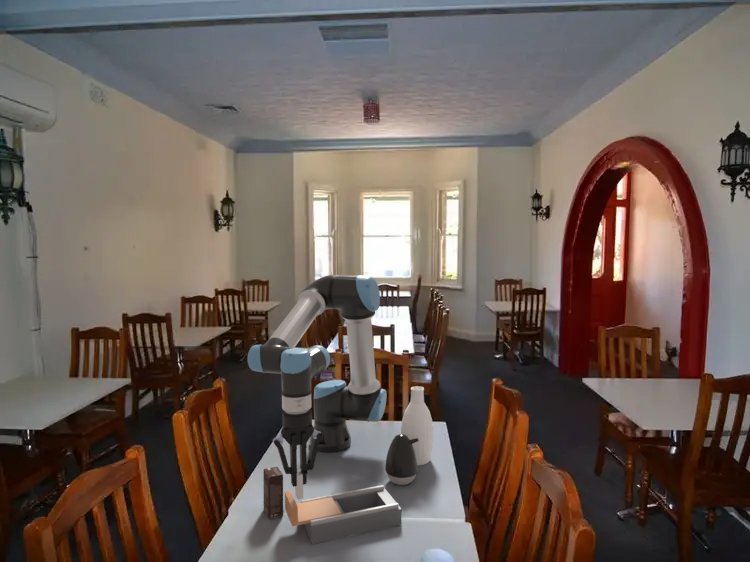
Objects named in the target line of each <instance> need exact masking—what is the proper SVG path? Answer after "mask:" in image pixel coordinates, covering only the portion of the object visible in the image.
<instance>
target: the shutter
mask: <svg viewBox="0 0 750 562" xmlns="http://www.w3.org/2000/svg"><path fill="white" fill-rule="evenodd" d="M284 510H285V512H286V515H287V517H288V520H289V522H290V525H291V527H295V526H296V527H297V526H300V525H304V524H306V523H311V520H315V519H320V518H325V517H330V516H335V515H340V514H341V512H340V510H339V508H338V507H337V505H336V503H335V502H334V500H333V498H332V497H329V498H323V499H318V500H313V501H308V502H302V503H301V502H297V503H296V500H295V498H294V496H293V493H292V491H291V490H286V491H284Z"/></svg>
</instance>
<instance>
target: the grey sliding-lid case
mask: <svg viewBox="0 0 750 562" xmlns="http://www.w3.org/2000/svg"><path fill="white" fill-rule="evenodd" d="M329 497H332V498H333V500H334V502H335V503H336V505H337V507H338V508H339V510H340V512H341V514H340V515H335V516H330V517H325V518H320V519H315V520H311V523H306V524H303V526H304V528H305V530H306V532H307V535H308V537H309V538H308V539H310V541H311V544H312V545H316V544H319V543H324V542H330V541H334V540H339V539H343V538H347V537H353V536H356V535H363V534H365V533H371V532H376V531H380V530H384V529H388V528H393V527H398V526H401V525H402V508H401V506H400V505H399V503H398V502H397V501H396V500H395V499H394V498H393V497H392V495H391V494H390V493H389V492H388V490H387V489H385V486H384V484H382V485H377V486H371V487H370V486H369V487H366V488H361V489H354V490H349V491H343V492H339V493H333V494H328V495H323V496H318V497H312V498H307V499H300V503H302V502H308V501H313V500H318V499H323V498H329Z"/></svg>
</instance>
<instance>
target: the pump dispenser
mask: <svg viewBox="0 0 750 562" xmlns="http://www.w3.org/2000/svg"><path fill="white" fill-rule="evenodd" d="M415 442H418V438H415V439H411V440H410V439H409V438H408V436H406V435H404V434H401V433H399V434H396V435H395V436H394V438H393V439H392V440H391V442H390V445H389V447H388V450H387V454H386V458H385V465H384V467H385V469H384V470H385V473H386V476H387V478H388V479H389V481H390V482H391V483H393V484H395V485H398V486H405V485H408V484H410V483H413V481H414V480H415V479H416V476H417V474H418V472H419V471H418V469H419V467H418V465H417V458H416V454H415V450H414V447H413V445H412V444H413V443H415Z"/></svg>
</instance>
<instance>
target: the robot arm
mask: <svg viewBox="0 0 750 562" xmlns="http://www.w3.org/2000/svg"><path fill="white" fill-rule="evenodd" d="M379 287H380V286H379V285H378V282H377V281H376V279H375V278H374V277H373V276H370V275H368V276H367V275H362V274H359V275H358V274H357V275H355V274H354V275H351V274H350V275H347V274H346V275H345V274H342V275H341V274H330V275H326V276H325V275H324V276H322V277H320V278H318V279H316V280H315V281H313V282H311V283H309V284H308V285H307V286H306V287H305V288H304V289H303V290H302V291H301V293H299V295H298V297H297V298H298V299H297V303H296V304H295V305H294V306H293V308H292V309H291V310H290V311H289V313H288V314H287V315H286V316H285V317H284V319H283V320H282V322H281V323H280V324H279V326H278V327H277V328H276V329H275V330H274V331H273V333H272V334H271V336H270V337H269V338H268V340H267V341H266V342H265V343H264V344H255V345H252V346H251V347H250V348H249V350H248V352H247V365H248V368H250V370H251V371H253V372H259V373H263V374H267V373H268V374H278V375H281V380H280V381H281V408H282V412H281V414H282V417H281V418H282V429H281V430H280V434H279V435H278V436H273V437H272V442H273V444H274V446H275V447H276V448H277V451H278V454H279V458H280V461H281V465H282V468H283V471H284V473H285V475H290V483H291V485H292V487H295V490H294V491H295V497H296V499H297V500H304V485H307V482H308V479H307V475H308V471H313V470H314V466H315V464H316V459H317V454H318V452H323V453H324V452H325V453H333V452H340V451H345V449H347V448H349V447H350V446H351V444H352V441H351V440H352V438H351V434H350V431H349V427H348V425H347V420H352V421H362V422H363V421H364V422H367V423H370V422H372V423H373V422H375V423H378V422H380V420H382V418H383V415H384V413H385V409H386V405H387V399H388V398H387V390H386V389H384V388H381V382H380V381H379V380H378V379H377V378H376V366H375V365H376V364H375V353H374V352H375V351H374V337H373V326H372V324H373V323H372V318H373V317H375V315H376V312H377V311H378V310H379V308H380V303H381V301H380V299H381V291H380V288H379ZM326 310H340V317H341V318H342V319H344V321H345V322H346V323H345V324H346V325H345V326H346V332H347V333H346V334H347V336H346V337H347V345H348V356H349V366H350V367H349V368H350V379H351V380H350V382H349V383H348V385H347V383H346V381H345V380H343V379H332V380H331V379H330V380H327V381H323V382H320V383H318V384H316V386H314V389H313V397H312V380H313V379H314V378H316V377H317V376H318V375H321V374H323V373H324V372H325V370H326V369H327V368H328V367H329V366H330V364H331V355H330V353H329V351H328V350H327V348H325V347H324V346H323V345H318V344H317V345H312V346H310V347H296V346H298V345H297V344H298V343H299V342H300V340H301V339H302V338H303V336H304V334H305V333H306V332H307V330H308V329H309V328H310V326H311V325H312V324H313V322H314V321H315V319H316V318H317V317H318V316H320V315H322V313H324V311H326ZM312 398H313V400H312ZM312 401H313V405H312ZM312 406H313V409H311V408H312ZM312 410H313V411H312ZM313 418H314V419H313ZM313 420H314V421H313ZM313 422H314V424H313ZM283 439H284V440H285V441H286V443H288V445H289V457H290V458H289V461H290V466H289V463H288V459H287V457H286V454H285V453H286V452H285V450H284V447H283V444H284V440H283ZM308 442H309V447H310V448H309V452H308V455H307V447H308V445H307V443H308ZM298 446H299V465H300V466H299V469H298V459H297V458H298V457H297V455H298V454H297V450H298ZM307 456H308V457H307Z"/></svg>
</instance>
